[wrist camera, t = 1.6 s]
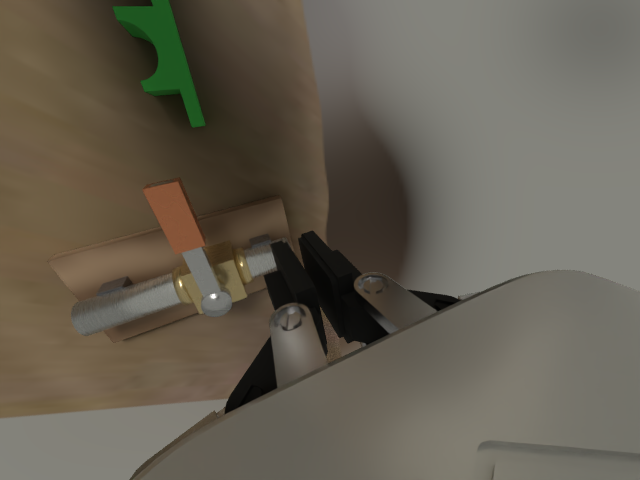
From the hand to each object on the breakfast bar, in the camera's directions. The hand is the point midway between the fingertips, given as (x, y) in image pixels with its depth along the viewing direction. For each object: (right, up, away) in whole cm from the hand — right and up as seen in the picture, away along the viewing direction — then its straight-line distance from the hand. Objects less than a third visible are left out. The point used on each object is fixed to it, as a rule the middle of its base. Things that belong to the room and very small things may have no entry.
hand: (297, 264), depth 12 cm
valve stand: (-14, -2, +20) cm, 24 cm away
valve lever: (-11, +1, +12) cm, 16 cm away
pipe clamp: (-13, +18, +11) cm, 25 cm away
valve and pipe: (-14, -2, +18) cm, 23 cm away
